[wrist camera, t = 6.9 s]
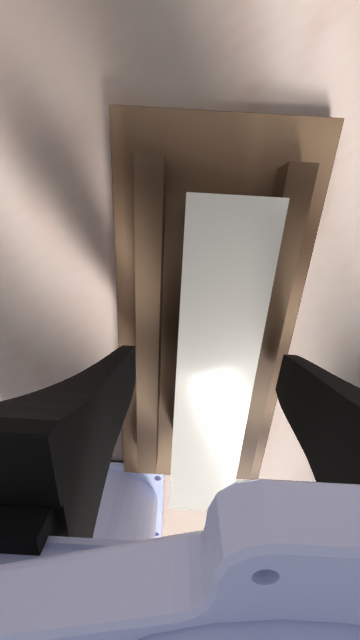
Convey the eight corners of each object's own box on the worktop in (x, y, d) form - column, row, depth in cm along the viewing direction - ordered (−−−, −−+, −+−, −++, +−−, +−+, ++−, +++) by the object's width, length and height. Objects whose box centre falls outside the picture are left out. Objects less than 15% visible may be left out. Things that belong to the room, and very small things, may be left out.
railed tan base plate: (254, 467, 19) (263, 500, 17) (126, 460, 19) (118, 492, 17) (331, 126, 11) (369, 101, 9) (115, 114, 11) (97, 86, 9)
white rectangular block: (216, 432, 17) (229, 512, 12) (173, 430, 17) (168, 508, 12) (248, 208, 12) (289, 197, 7) (186, 204, 12) (186, 191, 7)
